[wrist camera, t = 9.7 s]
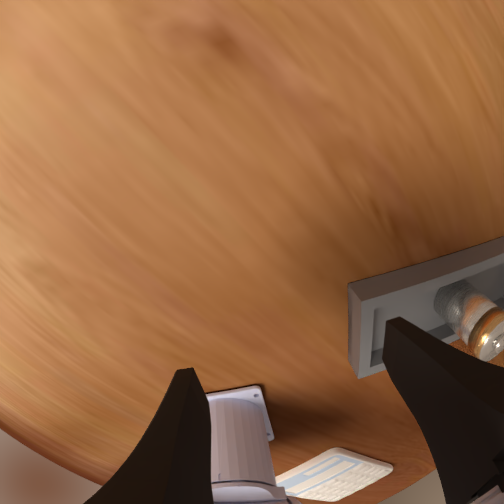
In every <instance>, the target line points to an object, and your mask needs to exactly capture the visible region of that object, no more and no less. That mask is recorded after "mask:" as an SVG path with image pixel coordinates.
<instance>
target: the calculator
mask: <svg viewBox="0 0 504 504" xmlns="http://www.w3.org/2000/svg"><path fill="white" fill-rule="evenodd" d="M392 471H393V466H392V465H391V464H389V463H385V462H382V461H379V460H376V459H373V458H369V457H366V456H363V455H360V454H357V453H355V452H352V451H349V450H346V449H343V448H339V447H335V448H331V449H329V450H327V451H325V452H323V453H322V454H320V455H318V456H316V457H314V458H312V459H311V460H309V461H307V462H305V463H303V464H301V465H299V466H297V467H295V468H293V469H291V470H289V471H287V472H285V473H283V474H281V475H279V476H277V477H275V479H276V484H277V487H282V486H283V487H284V488H285V492H286V495H288V496H294V497H300V498H306V499H314V500H321V501H338V500H340V499H342V498H344V497H346V496H348V495H351V494H353V493H354V492H356V491H358V490H360V489H362V488H364V487H366V486H367V485H369V484H372V483H374V482H376V481H377V480H378V479H380V478H382V477H384V476H386V475H388V474H389V473H390V472H392Z"/></svg>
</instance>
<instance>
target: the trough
mask: <svg viewBox="0 0 504 504" xmlns="http://www.w3.org/2000/svg"><path fill="white" fill-rule="evenodd" d="M462 279H466V280H467V281H468V282H469V283H471V284H472V285H473V286H474V287H476V288H477V289H478V290H479V291H480V292H482V293H483V294H484V295H485V296H486V297H488V298H489V299H490V300H491V301H492V302H494V303H495V304H496V305H497V306H498V307H500V308H502V309H503V310H504V236H503V237H501V238H498V239H495V240H492V241H489V242H486V243H483V244H480V245H477V246H474V247H471V248H468V249H465V250H462V251H459V252H456V253H452V254H449V255H446V256H443V257H440V258H436V259H433V260H430V261H426V262H423V263H420V264H416V265H413V266H410V267H406V268H403V269H399V270H396V271H392V272H389V273H385V274H382V275H378V276H374V277H371V278H367V279H363V280H360V281H356V282H352V283H348V320H349V339H348V360H349V362H350V364H351V366H352V368H353V370H354V372H355V374H356V376H357V378H358V379H360V378H363V377H366V376H369V375H372V374H375V373H378V372H380V371H383V370H386V367H385V365H384V362H383V360H382V354H383V346H384V336H385V325H386V321H387V320H390V319H393V318H396V317H399V316H400V317H402V318H404V319H405V320H407V321H409V322H411V323H412V324H414V325H416V326H417V327H419V328H421V329H422V330H424V331H426V332H427V333H429V334H431V335H432V336H434V337H436V338H438V339H439V340H441V341H443V342H445V343H447V344H449V343H451V342H454V341H456V340H458V339H460V337H459V336H458V335H457V334H456V333H455V332H454V331H453V330H452V329H451V328H450V327H449V326H448V325H447V323H446V322H445V321H444V320H443V319H442V318H441V317H440V316H439V315H438V314H437V313H436V312H435V310H434V299H435V296H436V294H437V292H438V290H439V289H440V287H443V286H446V285H448V284H451V283H454V282H456V281H459V280H462Z"/></svg>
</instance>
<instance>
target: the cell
mask: <svg viewBox="0 0 504 504" xmlns="http://www.w3.org/2000/svg"><path fill="white" fill-rule="evenodd" d="M434 310H435V312H436V313H437V314H438V315H439V316H440V317H441V318H442V319H443V320H444V321H445V322H446V323H447V325H448V326H449V327H450V328H451V329H452V330H453V331H454V332H455V333H456V334H457V335H458V336H459V337H460V338H461V339H462V341H463V342H464V343H465V344H466V345H467V346H468V348H469V349H470V350H471V351H472V352H473V354H474V355H475V356H476V357H477V358H478V359H480V360H483V361H485V362H487V361H489V360H491V359H493V358H494V357H495V356H496V355H498V354H499V353H500V352H501V351H502V350H503V349H504V310H503V309H502V308H500V307H498V306H497V305H496V304H495V303H494V302H492V301H491V300H490V299H489V298H488V297H486V296H485V295H484V294H483V293H482V292H480V291H479V290H478V289H477V288H476V287H474V286H473V285H472V284H471V283H469V282H468V281H467V280H466V279H462V280H459V281H456V282H454V283H451V284H448V285H446V286H443V287H440V289H439V290H438V292H437V294H436V296H435V299H434Z"/></svg>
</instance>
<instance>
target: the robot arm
mask: <svg viewBox="0 0 504 504" xmlns="http://www.w3.org/2000/svg"><path fill="white" fill-rule="evenodd" d="M382 360H383V362H384V365H385V367H386V369H387V371H388V374H389V376H390V378H391V380H392V382H393V383H394V385H395V386H396V388H397V390H398V391H399V393H400V395H401V396H402V398H403V399H404V401H405V403H406V404H407V406H408V407H409V409H410V411H411V412H412V414H413V415H414V417H415V419H416V420H417V422H418V424H419V426H420V428H421V430H422V432H423V434H424V437H425V439H426V441H427V444H428V446H429V449H430V451H431V454H432V456H433V459H434V462H435V465H436V468H437V470H438V474H439V477H440V480H441V484H442V488H443V492H444V496H445V500H446V504H470V503H471V504H504V368H503V367H500V366H497V365H494V364H491V363H488V362H485V361H483V360H480V359H478V358H475V357H473V356H471V355H468V354H466V353H464V352H462V351H460V350H458V349H456V348H454V347H452V346H450V345H448V344H447V343H445V342H443V341H441V340H439V339H438V338H436V337H434V336H432V335H431V334H429V333H427V332H426V331H424V330H422V329H421V328H419V327H417V326H416V325H414V324H412V323H411V322H409V321H407V320H405V319H404V318H402V317H400V316H399V317H396V318H393V319H390V320H387V321H386V325H385V336H384V346H383V354H382ZM273 439H274V434H273V431H272V427H271V424H270V420H269V416H268V413H267V409H266V406H265V402H264V398H263V395H262V391H261V388H260V387H259V386H250V387H245V388H240V389H234V390H229V391H223V392H217V393H211V394H205V392H204V390H203V388H202V386H201V384H200V382H199V379H198V377H197V375H196V373H195V370H194V368H186V369H180V370H177V371H176V372H175V374H174V376H173V379H172V381H171V383H170V385H169V388H168V390H167V392H166V394H165V396H164V398H163V400H162V402H161V404H160V406H159V408H158V410H157V412H156V414H155V416H154V418H153V419H152V421H151V423H150V425H149V426H148V428H147V430H146V431H145V433H144V435H143V437H142V438H141V440H140V441H139V443H138V444H137V446H136V447H135V449H134V450H133V451H132V453H131V454H130V456H129V457H128V458H127V460H126V461H125V462H124V463H123V465H122V466H121V467H120V468H119V469H118V471H117V472H116V473H115V474H114V475H113V476H112V477H111V479H110V480H109V481H108V482H107V483H106V484H105V485H104V486H102V487H101V489H99V490H98V491H97V492H96V493H95V494H94V495H93V496H92V497H91V498H90V499H88V500H87V501H86V502H85V503H84V504H302V503H300V502H299V501H298V500H297V499H296V498H295V497H293V496H286V492H285V488H284V487H283V486H282V487H277V484H276V479H275V474H274V469H273V464H272V459H271V453H270V448H269V443H268V441H271V440H273ZM476 499H477V500H476ZM473 501H474V502H473Z"/></svg>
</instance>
